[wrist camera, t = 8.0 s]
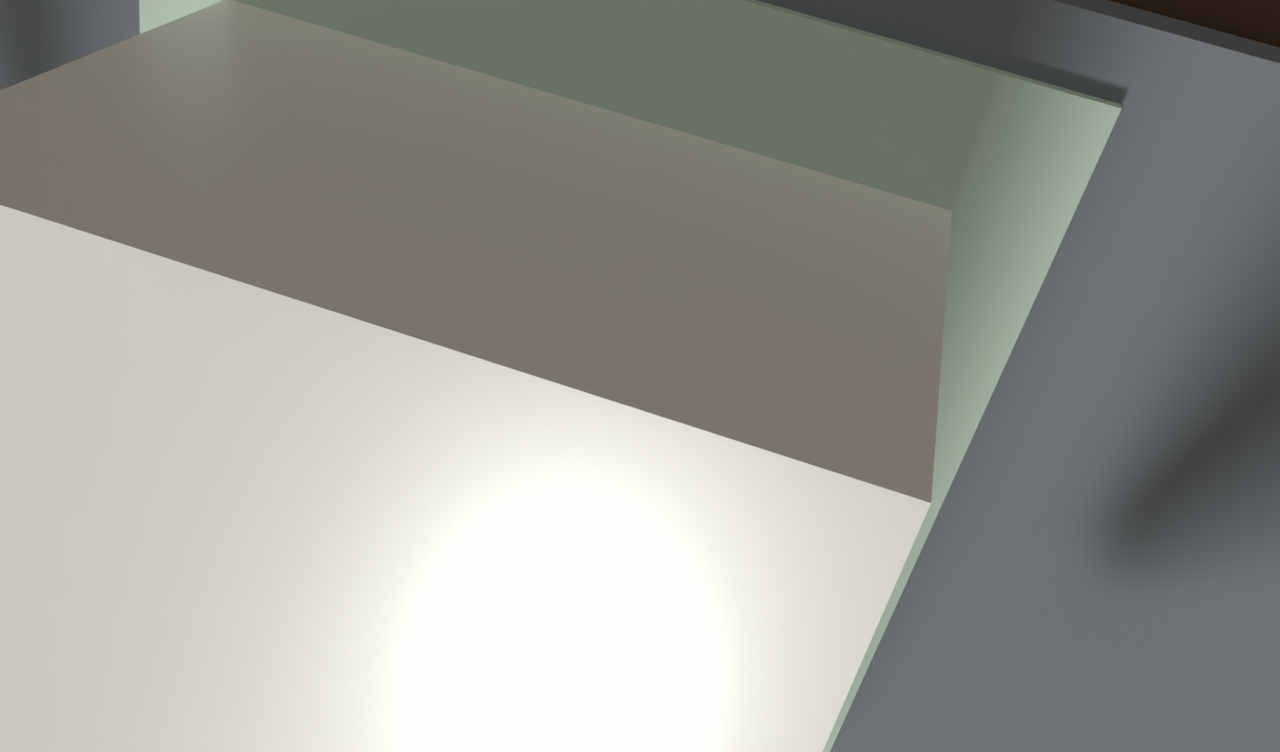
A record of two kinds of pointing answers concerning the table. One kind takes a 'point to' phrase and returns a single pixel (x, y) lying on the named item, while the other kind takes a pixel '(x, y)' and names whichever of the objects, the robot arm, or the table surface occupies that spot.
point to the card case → (437, 411)
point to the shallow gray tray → (984, 319)
